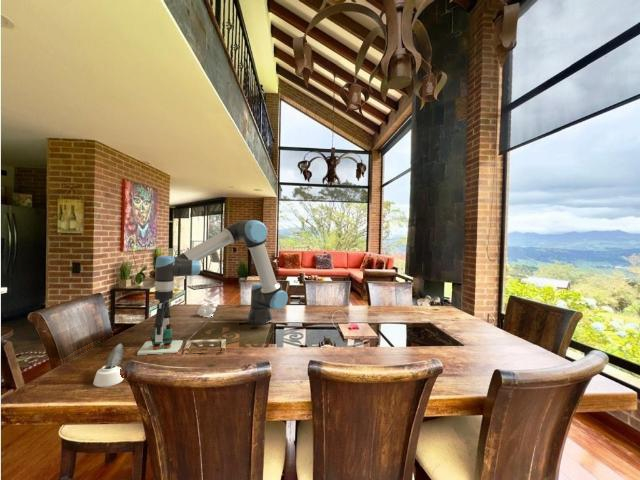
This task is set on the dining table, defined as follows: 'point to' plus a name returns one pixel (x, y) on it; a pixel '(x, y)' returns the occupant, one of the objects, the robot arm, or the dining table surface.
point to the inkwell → (110, 369)
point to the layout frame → (223, 341)
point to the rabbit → (207, 308)
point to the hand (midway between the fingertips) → (162, 336)
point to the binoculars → (166, 338)
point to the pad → (148, 348)
